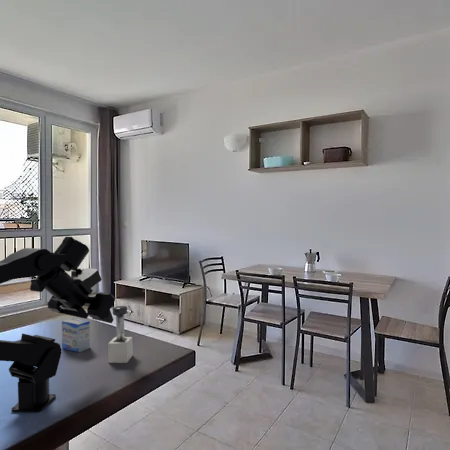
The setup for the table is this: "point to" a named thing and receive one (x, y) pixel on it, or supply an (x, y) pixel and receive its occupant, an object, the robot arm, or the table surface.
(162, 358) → the table surface
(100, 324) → the table surface
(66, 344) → the medicine box
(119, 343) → the press block
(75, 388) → the table surface
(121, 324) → the plunger
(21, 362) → the robot arm
